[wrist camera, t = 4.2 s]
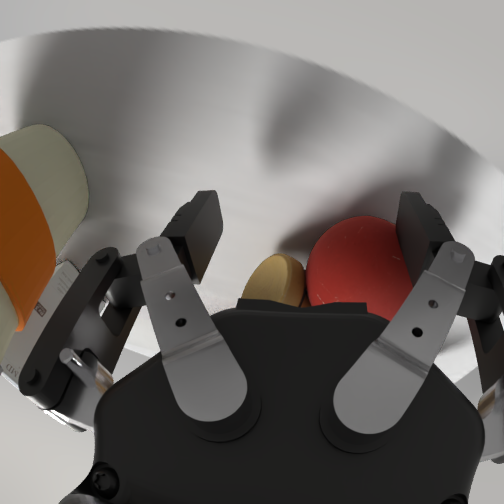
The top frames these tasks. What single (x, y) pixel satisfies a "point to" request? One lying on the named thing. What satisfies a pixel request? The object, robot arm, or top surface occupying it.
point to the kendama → (340, 270)
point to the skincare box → (38, 321)
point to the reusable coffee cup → (34, 217)
